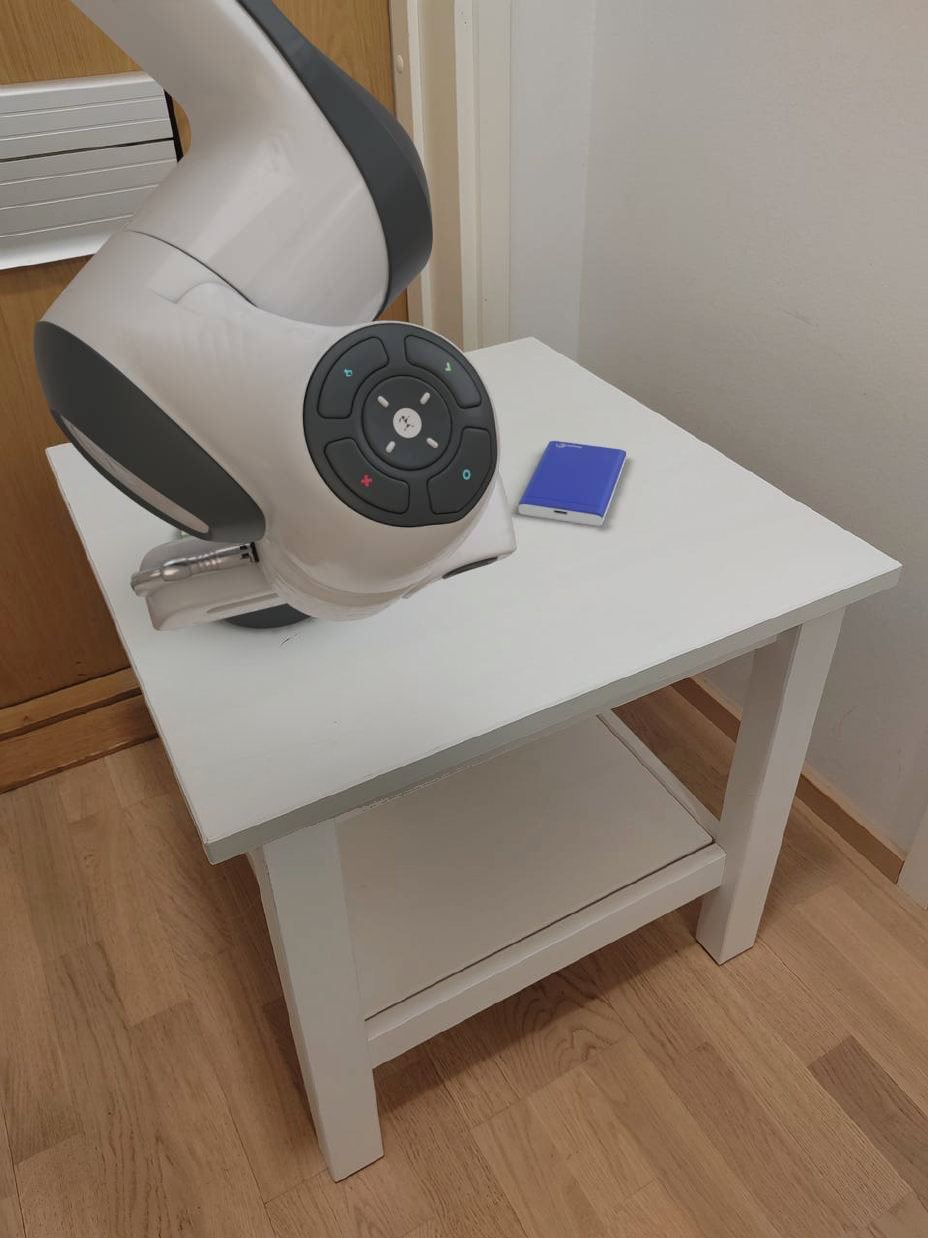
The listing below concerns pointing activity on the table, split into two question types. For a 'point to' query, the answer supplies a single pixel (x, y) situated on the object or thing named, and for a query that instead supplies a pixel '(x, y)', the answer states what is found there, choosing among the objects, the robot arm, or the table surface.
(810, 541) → the table surface
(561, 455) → the hard drive
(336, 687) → the table surface
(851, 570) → the table surface
